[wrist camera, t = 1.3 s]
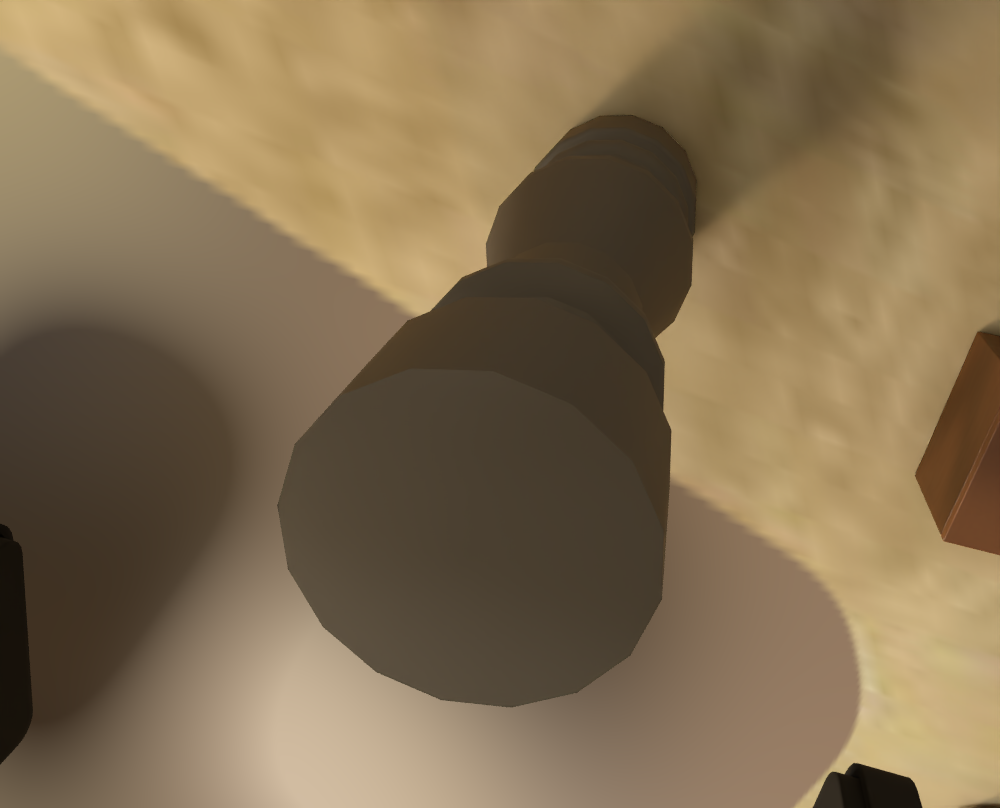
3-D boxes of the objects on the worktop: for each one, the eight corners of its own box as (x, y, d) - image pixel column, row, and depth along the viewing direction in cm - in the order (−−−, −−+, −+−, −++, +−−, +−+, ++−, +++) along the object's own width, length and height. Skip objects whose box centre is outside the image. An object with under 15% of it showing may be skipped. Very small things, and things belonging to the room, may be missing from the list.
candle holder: (551, 100, 34) (268, 303, 12) (715, 130, 34) (737, 405, 11) (525, 258, 37) (255, 663, 15) (676, 288, 36) (633, 763, 14)
